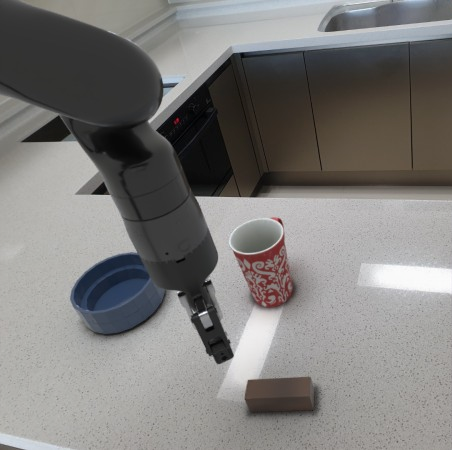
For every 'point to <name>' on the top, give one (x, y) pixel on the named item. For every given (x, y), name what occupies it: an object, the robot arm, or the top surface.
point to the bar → (280, 394)
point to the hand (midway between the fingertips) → (216, 334)
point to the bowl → (115, 294)
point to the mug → (263, 260)
